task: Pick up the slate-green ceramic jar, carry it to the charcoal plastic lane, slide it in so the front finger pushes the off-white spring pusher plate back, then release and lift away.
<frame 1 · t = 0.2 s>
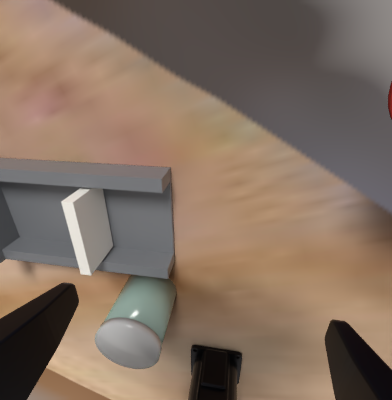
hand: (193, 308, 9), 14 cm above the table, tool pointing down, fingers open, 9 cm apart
pusher lane: (87, 210, 25), on the table
spring pusher: (91, 227, 23), point 3 cm above the table, slide at 0.0 cm
jar: (151, 288, 29), on the table
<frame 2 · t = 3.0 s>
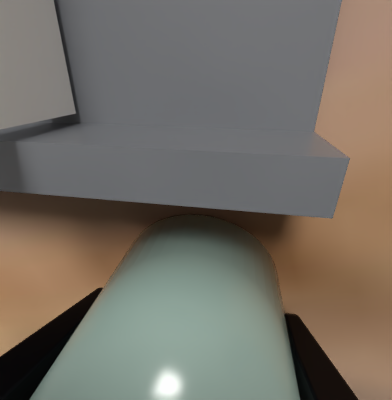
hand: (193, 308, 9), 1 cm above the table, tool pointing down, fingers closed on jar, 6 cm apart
jar: (199, 280, 10), on the table, touching gripper
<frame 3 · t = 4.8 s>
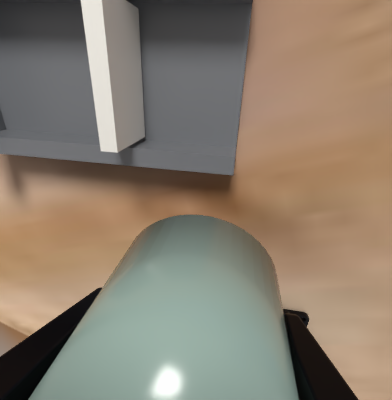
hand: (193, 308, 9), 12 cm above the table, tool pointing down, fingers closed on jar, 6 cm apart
pusher lane: (110, 77, 17), on the table
spring pusher: (119, 78, 14), point 3 cm above the table, slide at 0.0 cm
jar: (198, 280, 10), point 10 cm above the table, touching gripper
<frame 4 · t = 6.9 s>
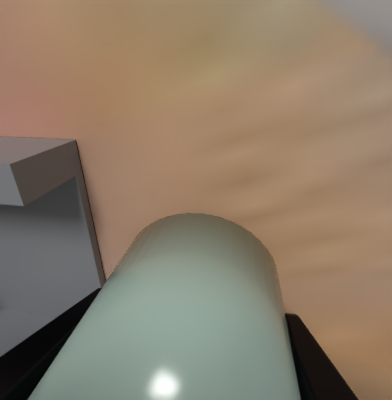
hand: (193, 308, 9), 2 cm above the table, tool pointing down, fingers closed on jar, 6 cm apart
jar: (199, 279, 10), point 1 cm above the table, touching gripper
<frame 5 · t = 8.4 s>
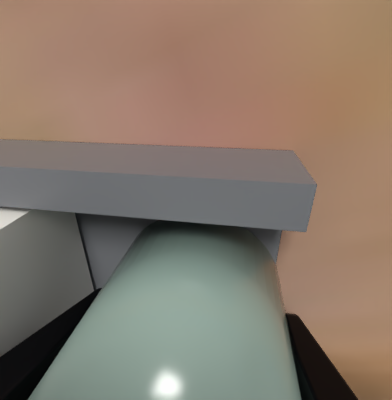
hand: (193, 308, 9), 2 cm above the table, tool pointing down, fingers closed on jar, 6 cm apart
pusher lane: (68, 254, 11), on the table
spring pusher: (40, 306, 9), point 3 cm above the table, slide at 1.2 cm, touching gripper
jar: (199, 279, 10), point 1 cm above the table, touching gripper
when the fingers open (2 cm above the table, at t = 10.8 s): jar stays where it is, resting on pusher lane.
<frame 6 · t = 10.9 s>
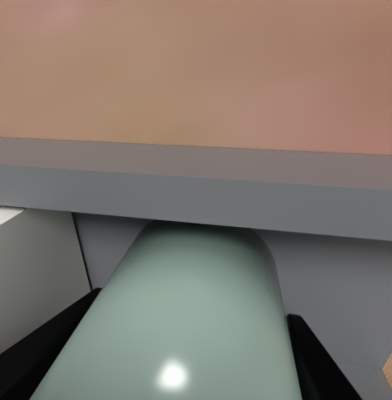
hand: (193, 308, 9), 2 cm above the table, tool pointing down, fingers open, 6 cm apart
pusher lane: (177, 266, 11), on the table
spring pusher: (36, 306, 9), point 3 cm above the table, slide at 6.4 cm, touching gripper
jar: (199, 275, 10), resting on pusher lane
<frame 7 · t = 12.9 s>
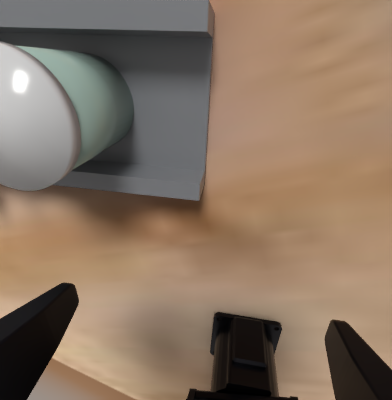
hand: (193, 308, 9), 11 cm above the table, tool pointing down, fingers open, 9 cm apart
pusher lane: (81, 103, 17), on the table
jar: (91, 103, 17), resting on pusher lane
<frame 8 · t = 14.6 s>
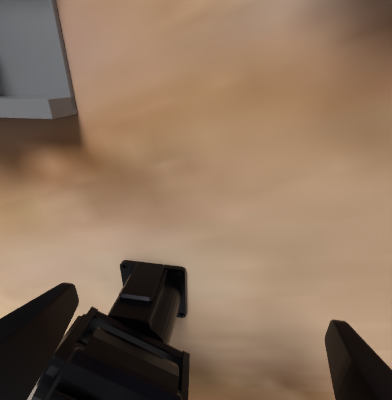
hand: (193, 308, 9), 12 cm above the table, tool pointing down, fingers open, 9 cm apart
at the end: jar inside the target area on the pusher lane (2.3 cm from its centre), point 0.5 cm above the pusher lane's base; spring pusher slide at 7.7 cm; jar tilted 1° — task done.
